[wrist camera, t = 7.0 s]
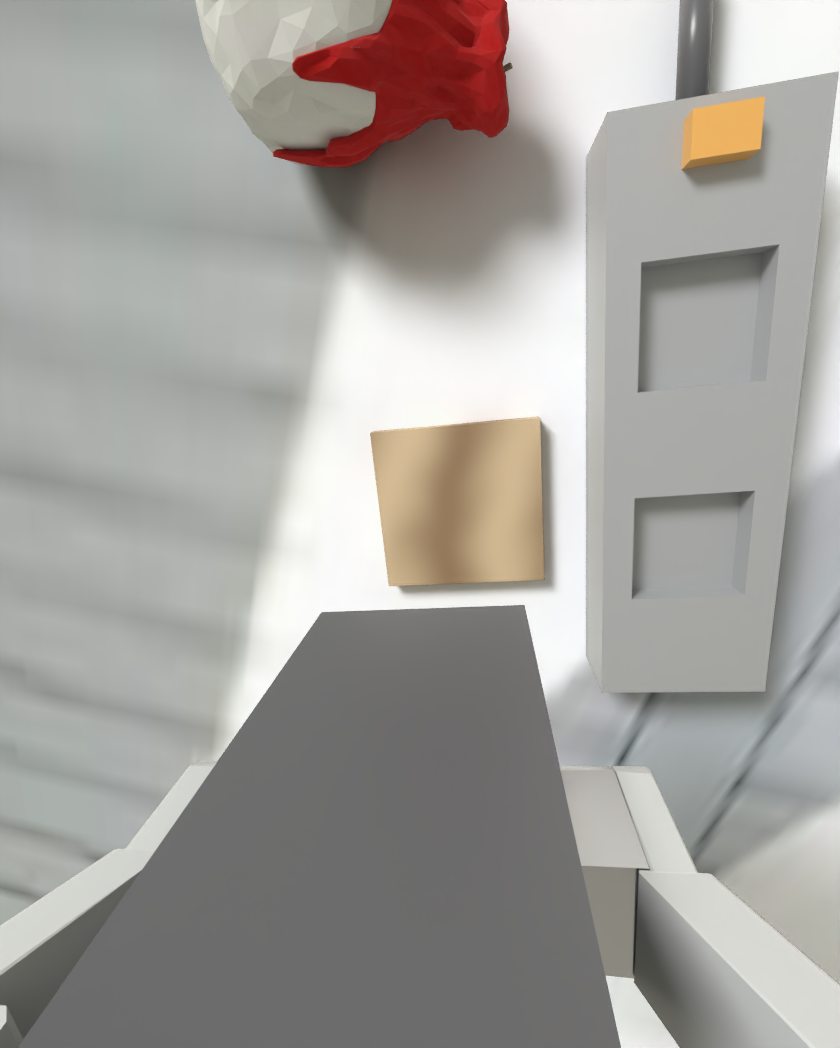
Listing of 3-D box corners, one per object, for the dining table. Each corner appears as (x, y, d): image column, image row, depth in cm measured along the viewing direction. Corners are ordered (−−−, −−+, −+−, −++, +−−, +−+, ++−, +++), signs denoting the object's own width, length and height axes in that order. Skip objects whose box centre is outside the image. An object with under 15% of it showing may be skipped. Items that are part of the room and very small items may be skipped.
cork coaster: (537, 416, 25) (540, 417, 24) (542, 573, 27) (544, 579, 26) (374, 431, 26) (370, 432, 25) (391, 579, 29) (388, 586, 28)
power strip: (792, -51, 19) (885, -181, 14) (727, 652, 27) (774, 701, 23) (586, -7, 20) (616, -116, 16) (586, 654, 28) (605, 702, 24)
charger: (524, 605, 9) (676, 1307, 2) (531, 777, 10) (647, 1608, 3) (321, 612, 10) (-77, 1182, 3) (349, 774, 11) (115, 1473, 4)
